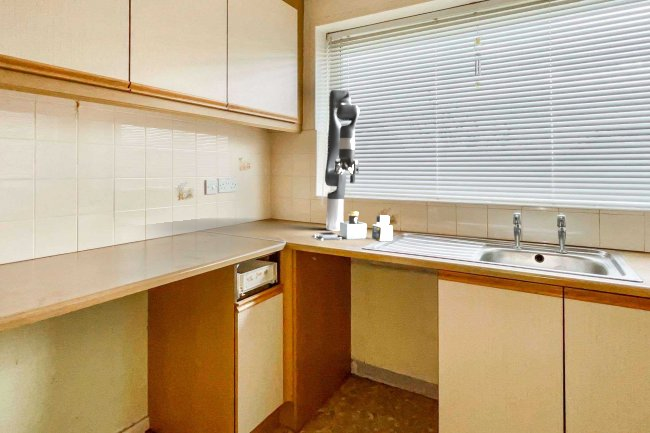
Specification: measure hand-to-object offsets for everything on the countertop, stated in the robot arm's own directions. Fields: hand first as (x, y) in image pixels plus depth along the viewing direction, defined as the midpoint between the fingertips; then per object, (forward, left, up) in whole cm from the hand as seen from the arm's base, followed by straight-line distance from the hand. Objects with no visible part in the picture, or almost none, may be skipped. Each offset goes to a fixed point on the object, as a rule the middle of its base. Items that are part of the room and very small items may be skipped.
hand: (345, 182), depth 182 cm
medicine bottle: (+7, +17, -27) cm, 33 cm away
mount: (+4, -10, -27) cm, 29 cm away
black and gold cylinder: (+4, +3, -26) cm, 27 cm away
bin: (+4, +3, -27) cm, 27 cm away
